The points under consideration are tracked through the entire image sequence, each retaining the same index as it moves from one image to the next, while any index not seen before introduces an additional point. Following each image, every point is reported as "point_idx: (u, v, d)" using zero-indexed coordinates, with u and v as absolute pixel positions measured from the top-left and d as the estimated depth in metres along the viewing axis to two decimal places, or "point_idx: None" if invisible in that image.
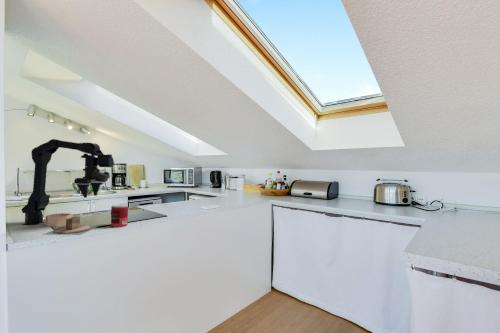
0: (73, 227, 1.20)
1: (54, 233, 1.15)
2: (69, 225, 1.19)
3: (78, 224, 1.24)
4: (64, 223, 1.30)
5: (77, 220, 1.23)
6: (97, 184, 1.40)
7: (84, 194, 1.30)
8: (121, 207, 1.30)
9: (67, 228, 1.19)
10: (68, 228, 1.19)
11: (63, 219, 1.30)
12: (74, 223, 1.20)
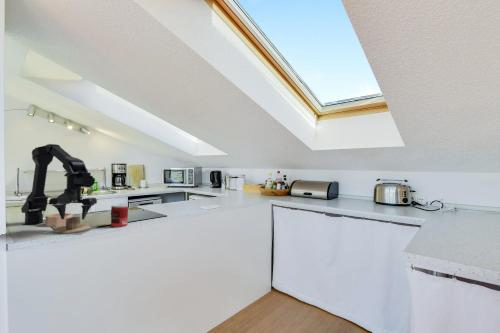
0: (73, 227, 1.20)
1: (54, 233, 1.15)
2: (69, 225, 1.19)
3: (78, 224, 1.24)
4: (64, 223, 1.30)
5: (77, 220, 1.23)
6: None
7: None
8: (121, 207, 1.30)
9: (67, 228, 1.19)
10: (68, 228, 1.19)
11: (63, 219, 1.30)
12: (74, 223, 1.20)
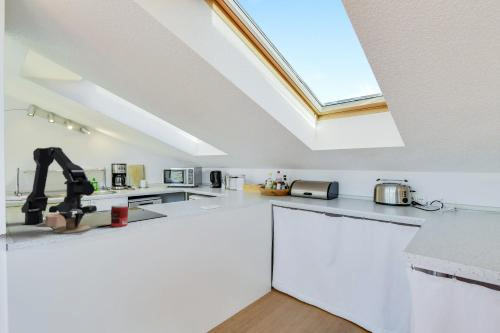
0: (73, 227, 1.20)
1: (54, 233, 1.15)
2: (69, 225, 1.19)
3: None
4: (64, 223, 1.30)
5: None
6: None
7: None
8: (121, 207, 1.30)
9: (67, 228, 1.19)
10: (68, 228, 1.19)
11: (63, 219, 1.30)
12: (74, 223, 1.20)
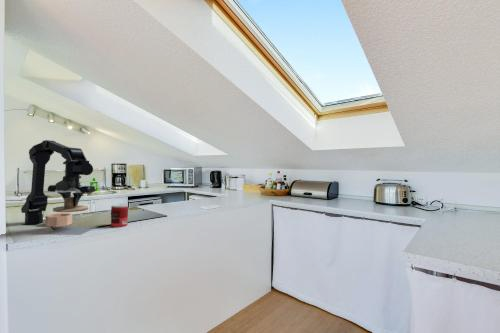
0: (71, 206, 1.21)
1: (54, 233, 1.15)
2: (67, 204, 1.20)
3: None
4: (64, 223, 1.30)
5: None
6: None
7: None
8: (121, 207, 1.30)
9: (65, 207, 1.20)
10: (66, 207, 1.20)
11: (63, 219, 1.30)
12: (72, 202, 1.22)
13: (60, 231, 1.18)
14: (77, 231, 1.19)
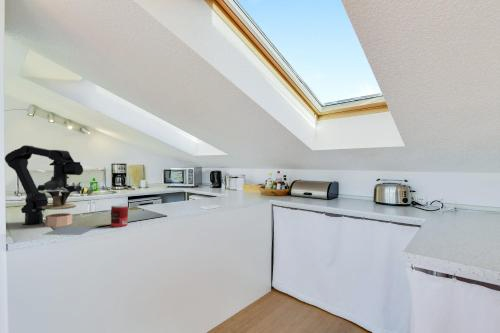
0: (59, 204, 1.31)
1: (54, 233, 1.15)
2: (55, 202, 1.30)
3: None
4: (64, 223, 1.30)
5: None
6: None
7: None
8: (121, 207, 1.30)
9: (54, 205, 1.30)
10: (55, 205, 1.30)
11: (63, 219, 1.30)
12: (60, 201, 1.31)
13: (60, 231, 1.18)
14: (77, 231, 1.19)
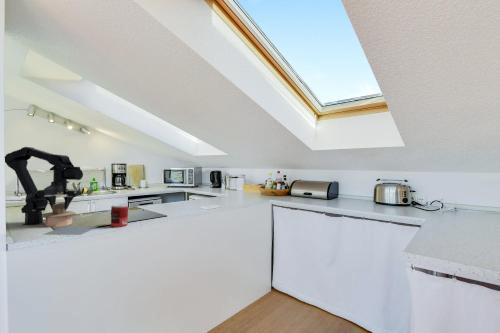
0: (59, 212, 1.31)
1: (54, 233, 1.15)
2: (55, 210, 1.30)
3: (64, 210, 1.35)
4: (64, 223, 1.30)
5: (63, 206, 1.34)
6: None
7: None
8: (121, 207, 1.30)
9: (53, 213, 1.30)
10: (54, 213, 1.30)
11: (63, 219, 1.30)
12: (60, 208, 1.31)
13: (60, 231, 1.18)
14: (77, 231, 1.19)
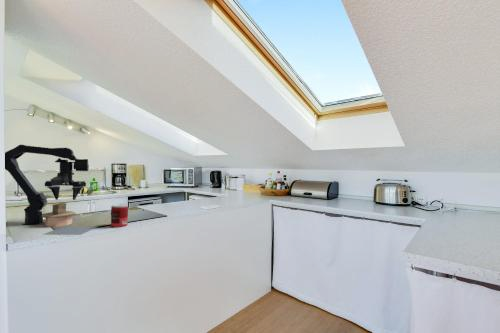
0: (59, 212, 1.31)
1: (54, 233, 1.15)
2: (55, 210, 1.30)
3: (64, 210, 1.35)
4: (64, 223, 1.30)
5: (63, 206, 1.34)
6: None
7: None
8: (121, 207, 1.30)
9: (53, 213, 1.30)
10: (54, 213, 1.30)
11: (63, 219, 1.30)
12: (60, 208, 1.31)
13: (60, 231, 1.18)
14: (77, 231, 1.19)
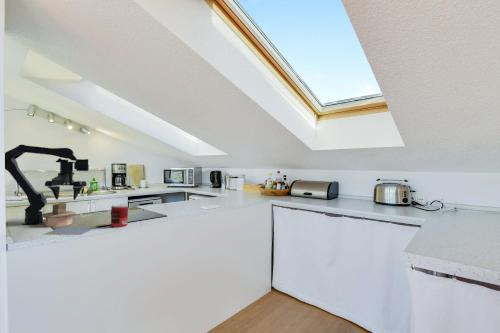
0: (59, 212, 1.31)
1: (54, 233, 1.15)
2: (55, 210, 1.30)
3: (64, 210, 1.35)
4: (64, 223, 1.30)
5: (63, 206, 1.34)
6: None
7: None
8: (121, 207, 1.30)
9: (53, 213, 1.30)
10: (54, 213, 1.30)
11: (63, 219, 1.30)
12: (60, 208, 1.31)
13: (60, 231, 1.18)
14: (77, 231, 1.19)
